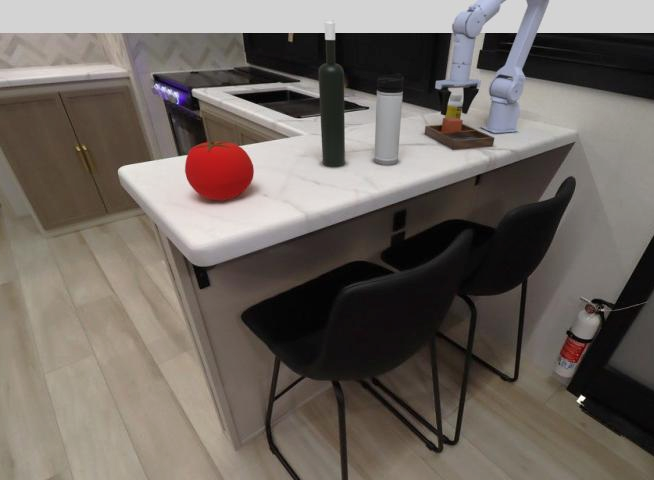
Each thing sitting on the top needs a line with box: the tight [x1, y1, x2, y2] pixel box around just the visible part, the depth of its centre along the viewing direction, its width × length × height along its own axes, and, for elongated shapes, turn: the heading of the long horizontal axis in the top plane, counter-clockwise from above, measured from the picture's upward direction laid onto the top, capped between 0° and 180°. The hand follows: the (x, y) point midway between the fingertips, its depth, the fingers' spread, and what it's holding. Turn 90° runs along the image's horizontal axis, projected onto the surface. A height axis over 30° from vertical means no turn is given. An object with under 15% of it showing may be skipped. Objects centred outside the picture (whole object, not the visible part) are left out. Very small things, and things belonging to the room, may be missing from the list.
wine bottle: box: [318, 19, 346, 168], centre depth 89 cm, size 6×6×30 cm
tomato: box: [184, 140, 255, 201], centre depth 77 cm, size 12×13×11 cm
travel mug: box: [373, 73, 405, 166], centre depth 95 cm, size 6×7×20 cm
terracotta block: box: [441, 117, 464, 133], centre depth 120 cm, size 4×4×4 cm
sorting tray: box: [424, 122, 495, 151], centre depth 118 cm, size 14×18×2 cm
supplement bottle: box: [444, 92, 463, 119], centre depth 131 cm, size 5×5×10 cm
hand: (453, 114), depth 118 cm, fingers open, 7 cm apart
